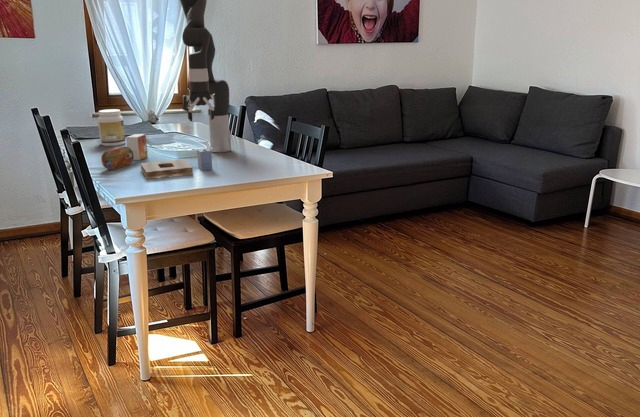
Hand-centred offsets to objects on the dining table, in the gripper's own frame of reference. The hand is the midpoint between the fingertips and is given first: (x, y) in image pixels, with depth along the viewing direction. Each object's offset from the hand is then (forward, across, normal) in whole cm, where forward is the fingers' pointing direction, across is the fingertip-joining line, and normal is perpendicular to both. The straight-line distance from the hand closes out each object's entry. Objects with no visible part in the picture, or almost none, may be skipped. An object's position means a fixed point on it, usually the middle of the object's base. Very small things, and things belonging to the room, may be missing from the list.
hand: (201, 120), depth 241 cm
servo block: (+20, 0, 0) cm, 20 cm away
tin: (+21, +33, -18) cm, 43 cm away
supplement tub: (+20, +30, -71) cm, 80 cm away
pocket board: (+20, +16, 0) cm, 26 cm away
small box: (+21, +23, -32) cm, 44 cm away
